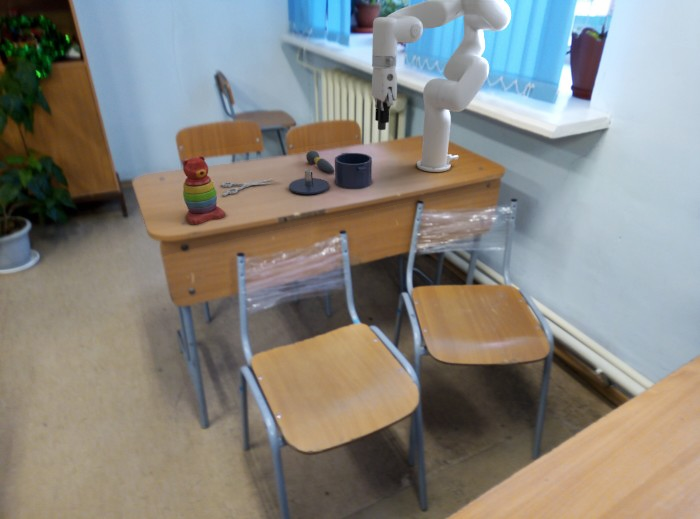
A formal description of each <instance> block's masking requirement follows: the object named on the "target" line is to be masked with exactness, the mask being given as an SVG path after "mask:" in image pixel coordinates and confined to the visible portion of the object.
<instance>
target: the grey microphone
mask: <svg viewBox="0 0 700 519" xmlns="http://www.w3.org/2000/svg"><path fill="white" fill-rule="evenodd" d="M305 157H306V162H308V163H309V164H311V165H316V166H317V167H318V169H320V170H322V171H324V172H327V173H330V174H333V173H335V167H333V165H332V164H331V163H330V162H329V161H327V160H326V159H325V158H322V157H320V153H319V152H318V151H316V150H310V151H308V152H307V153H306V156H305Z"/></svg>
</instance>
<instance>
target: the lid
mask: <svg viewBox="0 0 700 519" xmlns="http://www.w3.org/2000/svg"><path fill="white" fill-rule="evenodd" d="M313 175H314V174H313V169H305V170H304V178H298V179H295V180H292V181H291V182H290V183H289V185H288V188H289V190H290V191H291V192H293V193H295V194H300V195H315V194H320V193H323V192H325V191H327V190H328V189H329V188H330V183H329V182H328V181H327V180H325V179H323V178H318V177H313Z"/></svg>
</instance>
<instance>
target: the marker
mask: <svg viewBox="0 0 700 519" xmlns="http://www.w3.org/2000/svg"><path fill="white" fill-rule="evenodd" d="M386 100H387V99H386ZM378 101H379V108H378V121H377V130H378V131H385V130H386V129H387V123H380V122H379V119H380V110H381V100H379V99H378ZM384 104H385V103H384Z"/></svg>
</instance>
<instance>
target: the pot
mask: <svg viewBox="0 0 700 519" xmlns="http://www.w3.org/2000/svg"><path fill="white" fill-rule="evenodd" d="M372 163H373V159H372V157H371V156H370V155H368V154H365V153H362V152H361V153H360V152H341V154H338V155H336V156H335V157H334V183H335V185H336V186H338V187H340V188H343V189H349V190H351V189H352V190H353V189H354V190H356V189H363V188H367V187H369V186H370V185H371V184H372V174H373V173H372V170H373V169H372V167H373V166H372V165H373V164H372Z"/></svg>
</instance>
